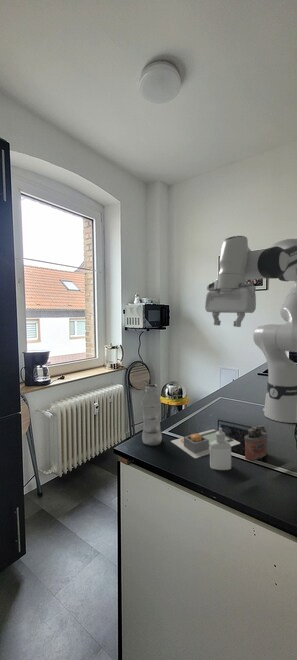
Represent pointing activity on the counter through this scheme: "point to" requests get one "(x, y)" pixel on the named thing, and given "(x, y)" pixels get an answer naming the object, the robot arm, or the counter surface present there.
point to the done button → (196, 437)
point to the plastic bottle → (151, 416)
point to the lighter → (255, 443)
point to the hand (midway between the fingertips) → (226, 326)
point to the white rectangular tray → (200, 443)
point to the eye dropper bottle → (220, 452)
